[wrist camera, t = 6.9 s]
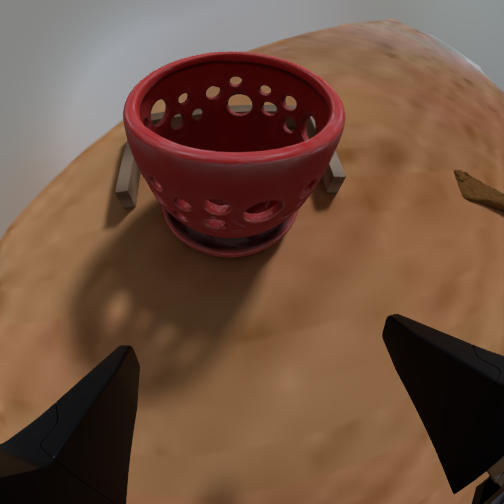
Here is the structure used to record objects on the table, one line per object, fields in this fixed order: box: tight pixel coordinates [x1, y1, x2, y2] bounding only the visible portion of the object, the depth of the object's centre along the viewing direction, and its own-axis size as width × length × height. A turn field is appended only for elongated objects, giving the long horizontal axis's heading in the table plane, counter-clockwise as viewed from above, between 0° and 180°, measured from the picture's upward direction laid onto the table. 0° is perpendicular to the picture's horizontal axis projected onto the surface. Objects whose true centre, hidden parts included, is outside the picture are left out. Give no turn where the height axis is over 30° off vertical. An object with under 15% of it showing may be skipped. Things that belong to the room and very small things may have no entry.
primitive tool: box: [454, 170, 504, 211], centre depth 27 cm, size 19×6×4 cm, turn 83°
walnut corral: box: [115, 105, 346, 208], centre depth 25 cm, size 11×20×2 cm, turn 97°
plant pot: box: [123, 52, 345, 257], centre depth 18 cm, size 13×13×12 cm
